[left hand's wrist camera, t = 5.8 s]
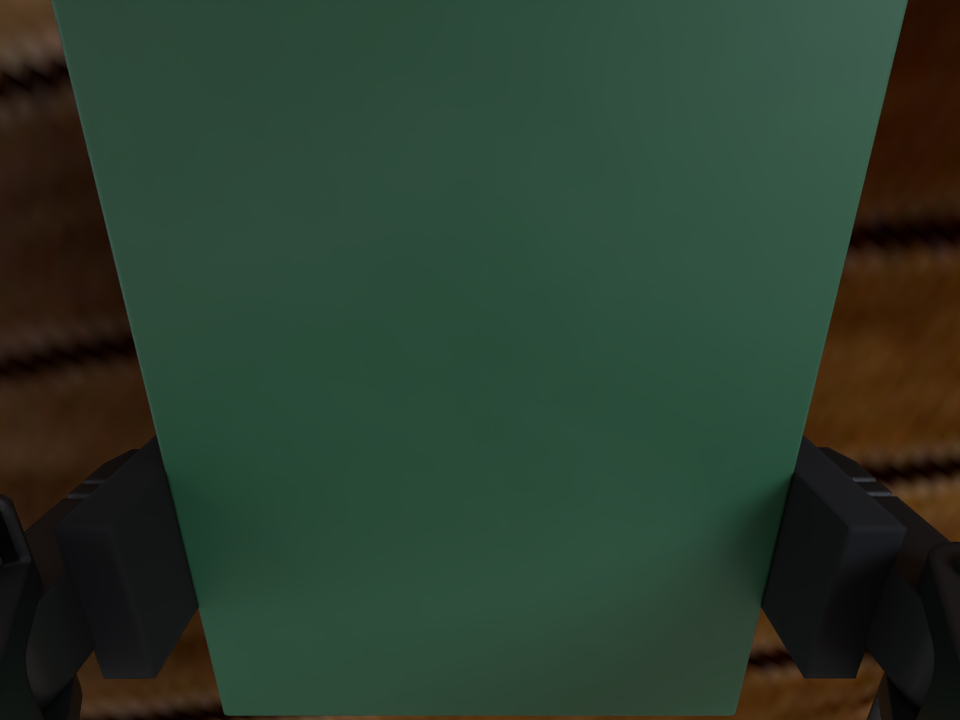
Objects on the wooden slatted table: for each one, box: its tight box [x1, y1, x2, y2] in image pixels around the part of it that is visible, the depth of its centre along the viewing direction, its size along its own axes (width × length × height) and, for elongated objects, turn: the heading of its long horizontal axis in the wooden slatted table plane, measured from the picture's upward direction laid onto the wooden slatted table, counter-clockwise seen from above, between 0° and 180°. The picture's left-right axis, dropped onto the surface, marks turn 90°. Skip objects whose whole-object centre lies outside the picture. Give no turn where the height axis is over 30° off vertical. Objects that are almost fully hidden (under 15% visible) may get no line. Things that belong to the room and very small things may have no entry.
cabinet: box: [51, 0, 908, 716], centre depth 12 cm, size 14×10×10 cm
